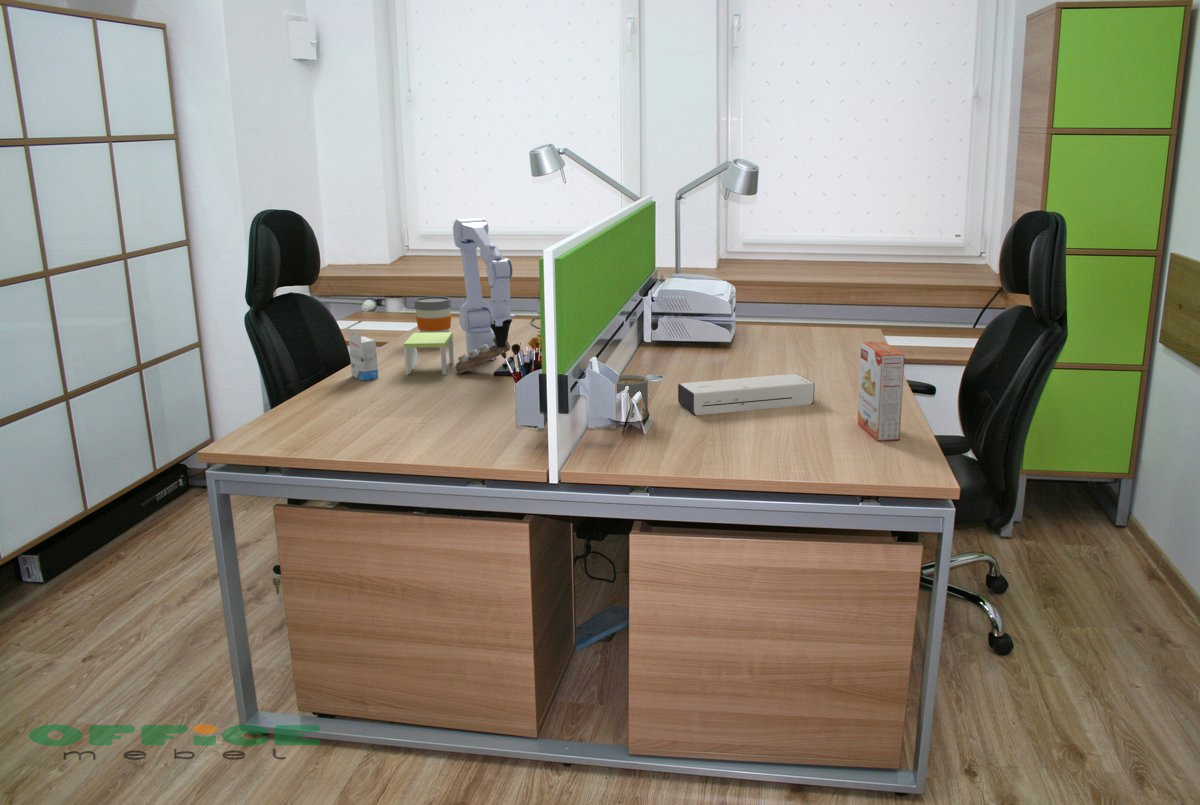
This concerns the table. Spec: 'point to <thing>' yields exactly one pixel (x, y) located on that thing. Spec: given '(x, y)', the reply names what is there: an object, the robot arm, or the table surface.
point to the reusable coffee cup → (433, 314)
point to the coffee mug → (634, 386)
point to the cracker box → (881, 390)
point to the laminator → (746, 394)
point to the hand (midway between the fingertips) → (502, 345)
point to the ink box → (362, 356)
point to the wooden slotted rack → (480, 356)
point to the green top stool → (428, 341)
